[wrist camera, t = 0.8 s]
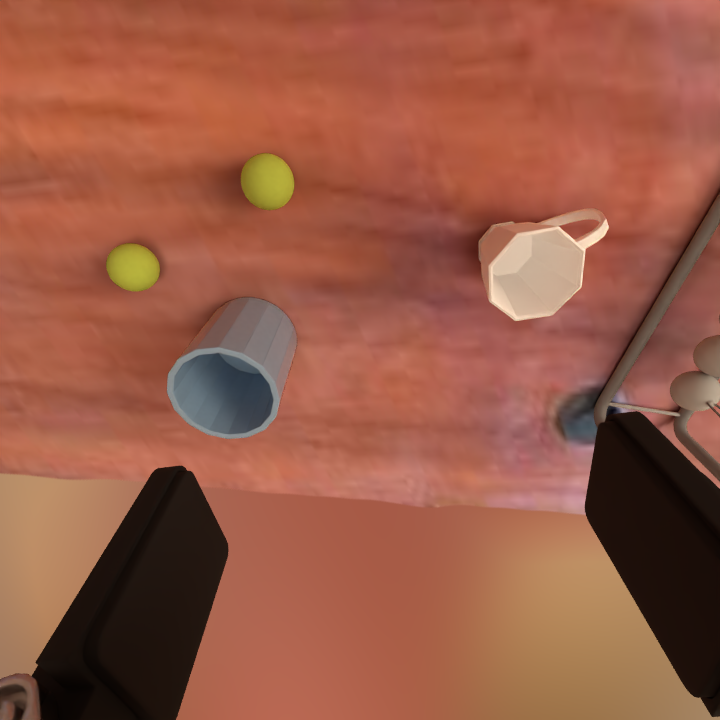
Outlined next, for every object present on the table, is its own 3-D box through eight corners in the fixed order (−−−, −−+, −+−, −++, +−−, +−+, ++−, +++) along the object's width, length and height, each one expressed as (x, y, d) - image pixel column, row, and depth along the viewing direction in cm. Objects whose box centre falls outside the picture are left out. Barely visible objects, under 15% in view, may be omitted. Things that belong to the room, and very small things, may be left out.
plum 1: (111, 251, 36) (85, 265, 32) (145, 229, 35) (121, 241, 31) (144, 289, 38) (122, 306, 34) (177, 269, 37) (157, 284, 33)
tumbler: (191, 321, 39) (143, 377, 31) (263, 281, 37) (233, 329, 28) (245, 386, 43) (215, 452, 34) (313, 352, 41) (299, 414, 32)
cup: (447, 234, 35) (469, 261, 28) (561, 165, 32) (617, 176, 25) (481, 298, 38) (507, 338, 31) (588, 240, 35) (644, 269, 28)
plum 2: (238, 168, 32) (222, 173, 29) (279, 141, 31) (268, 143, 28) (267, 214, 34) (256, 224, 31) (307, 189, 33) (300, 197, 30)
